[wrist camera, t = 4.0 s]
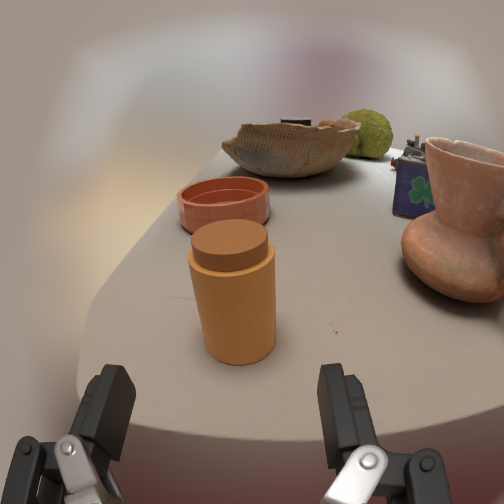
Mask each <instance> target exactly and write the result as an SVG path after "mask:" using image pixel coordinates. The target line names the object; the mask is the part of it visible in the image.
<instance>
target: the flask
mask: <svg viewBox="0 0 504 504" xmlns="http://www.w3.org/2000/svg"><path fill="white" fill-rule="evenodd" d="M412 157H414V156H411V155H408V157H399V158H398V162H397V175H396V186H395V195H394V202H393V214H394V215H396V216H398V217H403V218H409V219H416V218H418V217H420V216H422V215H424V214H427V213H429V212H432V211H434V210H436V208H435V203H434V199H433V195H432V190H431V185H430V179H429V174H428V168H427V161H426V153H425V154H424V155H423V156H420V157H418V156H415V157H416V158H418V159H415V158H412Z"/></svg>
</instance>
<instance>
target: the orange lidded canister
mask: <svg viewBox="0 0 504 504" xmlns="http://www.w3.org/2000/svg"><path fill="white" fill-rule="evenodd" d="M191 244H192V249H191V250H190V252H189V254H188V263H189V268H190V273H191V278H192V283H193V288H194V293H195V298H196V303H197V307H198V312H199V316H200V321H201V325H202V330H203V334H204V338H205V342H206V346H207V349H208V351H209V352H210V354H211V355H212V356H213V357H214V358H216V359H217V360H219V361H221V362H223V363H226V364H231V365H246V364H251V363H254V362H257V361H259V360H261V359H263V358H264V357H266V356H267V355H268V354H269V353H270V352H271V351H272V349H273V347H274V345H275V342H276V297H275V250H274V247H273V245H272V243H271V242H270V241H269V240H268V233H267V230H266V228H265V227H264V226H262V225H261V224H259V223H257V222H254V221H250V220H243V219H229V220H222V221H217V222H213V223H210V224H207V225H205V226H203V227H201V228H200V229H198V230H197V231H196V232H195V233H194V234H193V236H192V238H191Z"/></svg>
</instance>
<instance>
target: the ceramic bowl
mask: <svg viewBox="0 0 504 504" xmlns="http://www.w3.org/2000/svg"><path fill="white" fill-rule="evenodd" d="M361 128H362V123H360V122H359V123H355V121H353V120H349V119H346V118H341V119H339V120H337V121H336V122H335V121H332V120H323V121H321V122H320V123H319V125H318V127H314V126H304V125H301V124H290V123H277V124H276V123H254V124H253V123H249V124H242V125H241V128H240V130H239V131H238V134H237V136H235V137H233V138H231V140H227V141H224V142H222V148H223V150H224V151H225V152H226V153H227V154H228V155H229V156H230V157H231V158H232V159H233V160H234V161H235V162H236V163H237V164H239V165H240V166H241V167H243V168H244V169H246V170H248V171H250V172H253V173H256V174H258V175H260V176H269V177H279V178H299V177H306V176H311V175H314V174H318V173H321V172H324V171H327V170H329V169H330V168H332V167H333V166H335V165H336V164H337V163H338V162H339V161H340V160H341V159H342V158H343V157H344V156H345V155H346V154H347V152H348V151H349V150H350V148H351V145H352V144H353V142H354V137H355V135H356V134H357V133H358V131H359V130H360V129H361Z"/></svg>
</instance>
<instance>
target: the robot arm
mask: <svg viewBox="0 0 504 504" xmlns="http://www.w3.org/2000/svg"><path fill="white" fill-rule="evenodd" d="M84 394H85V395H83V398H82V400H81V403H80V406H79V408H78V411H77V413H76V416H75V419H74V422H73V424H72V427H71V430H70V432H69V434H68V435H64V436H62V437H60V438H59V439H58V440H57V442H44V443H39V442H38V441H37V440H36V439H35V438H33V437H31V436H25V437H23V438H22V439H20V440H19V441H18V443H17V446H16V449H15V452H14V455H13V458H12V461H11V465H10V468H9V472H8V475H7V479H6V483H5V487H4V491H3V495H2V499H1V504H129V503H128V501H127V500H126V498H125V496H124V494H123V492H122V491H121V489H120V487H119V485H118V483H117V481H116V479H115V477H114V475H113V473H112V471H111V468H110V467H109V462H110V460H113V461H117V462H119V460H120V455H121V451H122V447H123V444H124V440H125V436H126V432H127V428H128V424H129V421H130V417H131V413H132V410H133V406H134V402H135V399H136V389H135V386H134V384H133V382H132V381H131V379H130V377H129V375H128V373H127V372H126V370H125V368H124V367H123V366H121V365H110V364H106V365H105V366H104V367H103V369H102V372H101V374H100V375H95V377H94V378H93V379H92V380H91V381H90V382H89V383H88V385H87V388H86V390H85V393H84ZM317 396H318V404H319V410H320V416H321V423H322V429H323V436H324V442H325V449H326V456H327V462H328V469H334V468H336V475H337V478H336V479H335V481H334V482H333V484H332V485H331V487H330V488H329V490H328V491H327V492H326V494H325V495H324V497H323V498H322V499H321V501H320V502H319V504H366V503H367V501H368V500H369V498H370V496H385V497H386V499H387V504H452V499H451V494H450V489H449V484H448V479H447V475H446V471H445V466H444V462H443V459H442V456H441V455H440V454H439V453H438V452H437V451H436V450H434V449H430V448H426V449H421V450H419V451H417V452H416V453H415V454H400V453H392V452H388V451H387V450H385V449H384V448H382V447H381V446H380V444H379V443H378V441H377V438H376V434H375V430H374V426H373V422H372V419H371V415H370V411H369V407H368V404H367V400H366V398H365V393H364V390H363V386H362V384H361V382H360V381H359V380H358V379H357V378H356V376H355V375H347V376H344V372H343V369H342V365H341V364H340V363H335V364H326V365H321V369H320V375H319V380H318V386H317ZM41 475H42V478H41V482H40V486H39V481H40V477H41ZM38 486H39V491H38V495H37V490H38ZM36 495H37V496H36Z"/></svg>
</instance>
